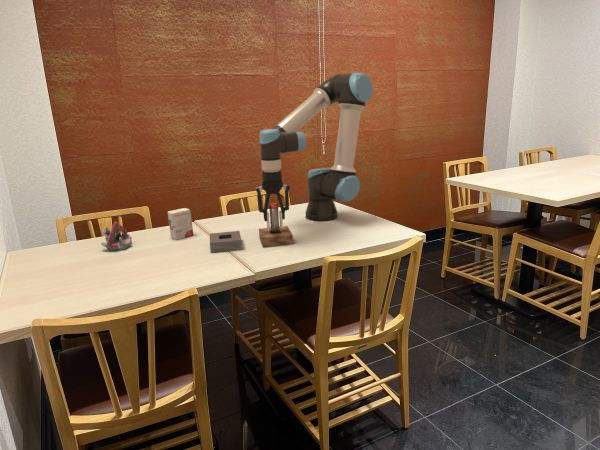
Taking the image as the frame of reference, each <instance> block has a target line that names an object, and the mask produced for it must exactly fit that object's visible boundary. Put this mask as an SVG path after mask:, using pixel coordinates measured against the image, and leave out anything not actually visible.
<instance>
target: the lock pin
mask: <svg viewBox="0 0 600 450" xmlns="http://www.w3.org/2000/svg"><path fill="white" fill-rule="evenodd" d="M268 209H269V222H270V228H271V234H275V233H280V232H279V227H280V217H279V203H277V202H272V203H269V204H268Z"/></svg>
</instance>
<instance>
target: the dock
mask: <svg viewBox="0 0 600 450" xmlns="http://www.w3.org/2000/svg"><path fill="white" fill-rule="evenodd" d="M209 248H210V254H214V253H224V252H233V250H235V251H242V250H243V243H242V236H241V232H240V230H232V231H224V232H223V231H222V232H212V233H209Z"/></svg>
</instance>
